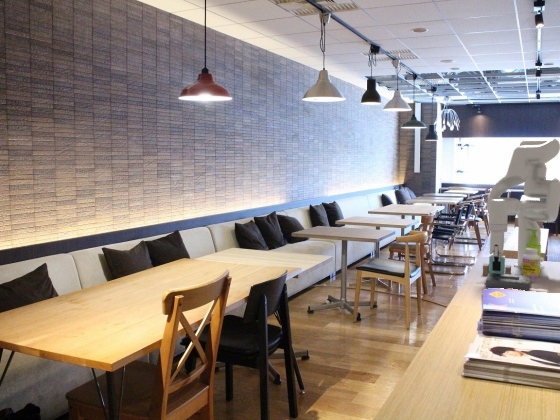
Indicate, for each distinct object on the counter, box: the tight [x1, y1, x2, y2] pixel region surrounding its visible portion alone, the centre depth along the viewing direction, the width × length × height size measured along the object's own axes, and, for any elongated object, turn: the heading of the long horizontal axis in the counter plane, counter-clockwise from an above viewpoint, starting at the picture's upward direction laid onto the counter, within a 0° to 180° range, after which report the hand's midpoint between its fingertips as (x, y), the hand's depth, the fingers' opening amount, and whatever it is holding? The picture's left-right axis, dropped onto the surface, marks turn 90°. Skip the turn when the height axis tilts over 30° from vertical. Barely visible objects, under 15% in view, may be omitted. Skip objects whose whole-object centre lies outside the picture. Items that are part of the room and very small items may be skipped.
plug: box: [488, 254, 506, 274], centre depth 235 cm, size 4×6×8 cm, turn 63°
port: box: [485, 273, 532, 291], centre depth 220 cm, size 14×16×3 cm
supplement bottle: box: [521, 248, 541, 279], centre depth 231 cm, size 7×7×13 cm
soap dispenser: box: [524, 229, 542, 274], centre depth 240 cm, size 6×7×20 cm
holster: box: [480, 263, 514, 277], centre depth 236 cm, size 10×12×5 cm
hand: (496, 269), depth 236 cm, fingers closed on plug, 4 cm apart
